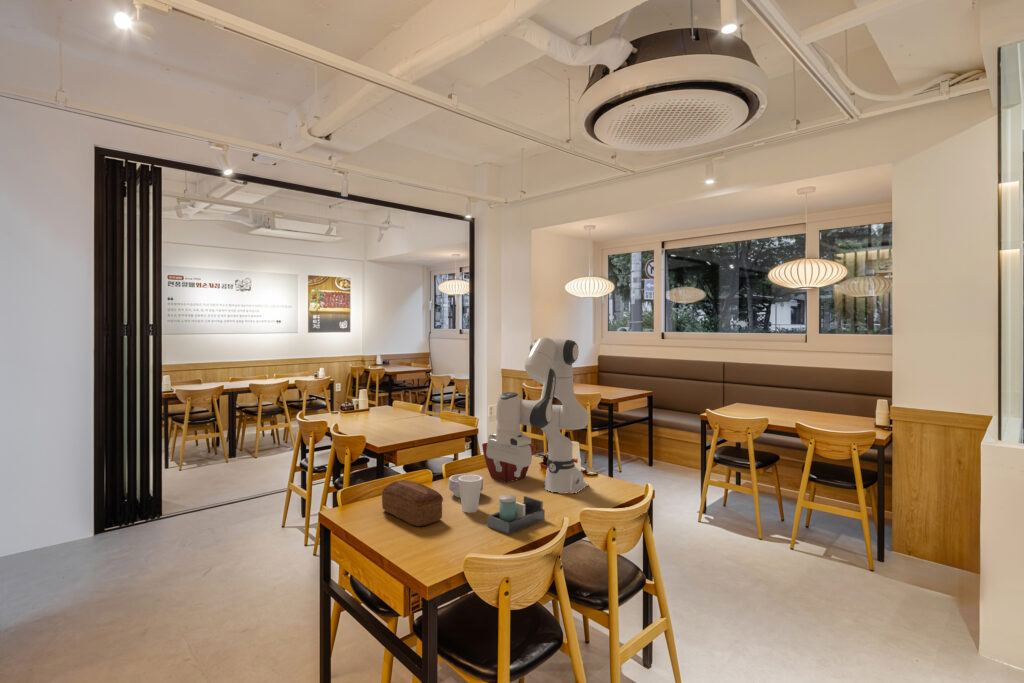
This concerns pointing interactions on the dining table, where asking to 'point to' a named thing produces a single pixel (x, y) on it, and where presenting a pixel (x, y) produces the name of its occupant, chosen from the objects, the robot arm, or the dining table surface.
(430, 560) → the dining table surface
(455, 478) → the pale lilac bowl
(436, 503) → the bread
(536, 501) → the grey open box
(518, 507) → the plate
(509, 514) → the jar
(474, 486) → the foam cup
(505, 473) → the plant pot
